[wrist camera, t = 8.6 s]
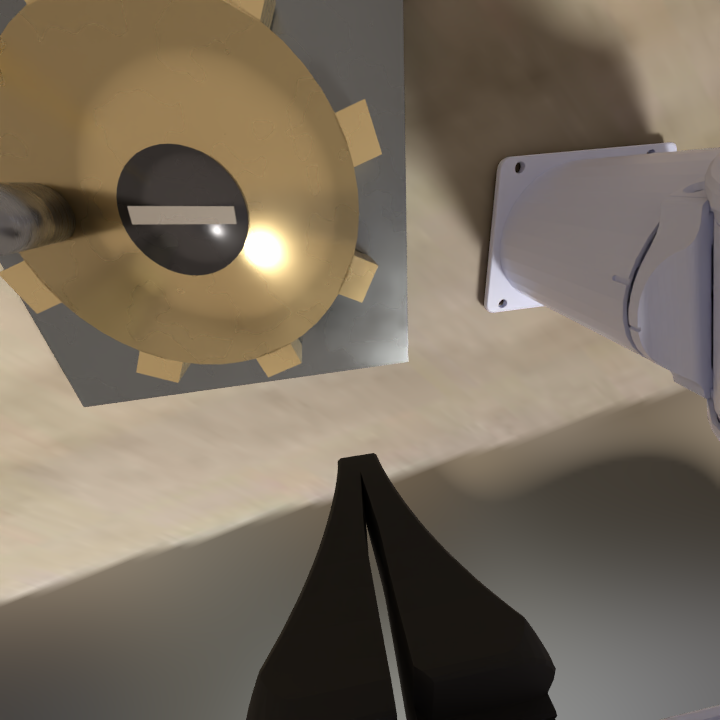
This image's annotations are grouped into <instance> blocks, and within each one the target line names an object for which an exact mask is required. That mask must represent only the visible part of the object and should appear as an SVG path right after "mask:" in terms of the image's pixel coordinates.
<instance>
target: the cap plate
mask: <svg viewBox="0 0 720 720" xmlns="http://www.w3.org/2000/svg"><path fill="white" fill-rule="evenodd" d="M275 2H276V6H275V10H274V15H273V19H272V23H271V27H270V30H271V31H272V32H273V33H275V34H276V35H277V36H278V37H279V38H280V39H281V40H283V42H284V43H285V44H286V45H287V46H288V47H289V48H290V49H291V50H292V52H293V53H294V54H295V55H296V56H297V57H298V58H299V59H300V60H301V62H302V63H303V64H304V65H305V66H306V68H307V69H308V71H309V72H310V73H311V75H312V76H313V78H314V79H315V81H316V82H317V83H318V85H319V86H320V88H321V89H322V91H323V93H324V94H325V96H326V98H327V100H328V102H329V103H330V105H331V107H332V109H333V111H334V112H335V113H336V112H338V111H340V110H342V109H344V108H347V107H349V106H351V105H353V104H355V103H357V102H359V101H361V100H363V99H365V100H366V104H367V107H368V110H369V113H370V117H371V120H372V123H373V126H374V129H375V133H376V136H377V139H378V142H379V145H380V149H381V152H382V154H381V155H379V156H377V157H375V158H373V159H371V160H368V161H366V162H364V163H362V164H360V165H358V166H356V167H354V170H355V176H356V182H357V188H358V202H359V223H358V236H357V242H356V247H355V250H356V251H358V252H361V253H363V254H365V255H368V256H370V257H371V258H372V259H373V260H374V261H375V262H376V263H377V265H378V267H377V270H376V272H375V274H374V277H373V279H372V281H371V284H370V286H369V288H368V291H367V293H366V295H365V298H364V300H363V302H362V303H361V302H359V301H356V300H353V299H351V298H348V297H345V296H343V295H340V294H338V295H337V297H336V299H335V300H334V302H333V303H332V305H331V306H330V308H329V309H328V310H327V312H326V313H325V314H324V315H323V316H322V317H321V319H320V320H319V321H318V322H317V323H316V324H315V325H314V326H313V327H311V328H310V329H309V330H308V331H307V332H306V333H305V334H304V335H302V336H301V337H299V338H298V339H299V341H300V343H301V345H302V363H301V364H299V365H296V366H294V367H292V368H289V369H287V370H285V371H282V372H280V373H278V374H275V375H273V376H271V377H268V376H267V375H266V373H265V372H264V370H263V369H262V367H261V366H260V364H259V362H258V361H257V359H251V360H247V361H243V362H237V363H228V364H194V363H191V364H190V366H189V367H188V369H187V370H186V372H185V373H184V375H183V376H182V378H181V380H180V381H179V383H177V382H173V381H169V380H165V379H161V378H157V377H153V376H149V375H145V374H141V373H137V372H136V371H137V365H138V359H139V352H140V351H139V350H137V349H135V348H132V347H130V346H128V345H125V344H123V343H121V342H119V341H117V340H115V339H113V338H112V337H110V336H108V335H106V334H104V333H103V332H101V331H99V330H98V329H96V328H95V327H93V326H92V325H90V324H89V323H87V322H86V321H84V320H83V319H81V318H80V317H79V316H78V315H76V314H75V313H74V312H73V311H72V310H70V309H69V308H68V307H67V306H66V305H64V304H63V303H59V304H57V305H55V306H53V307H51V308H49V309H47V310H44V311H42V312H40V313H38V314H37V313H36V312H35V311H34V310H33V309H32V308H31V307H30V306H29V305H28V304H27V303H26V302H25V301H24V300H23V299H22V298H21V299H22V301H23V302H24V304H25V306H26V308H27V309H28V311H29V313H30V315H31V316H32V318H33V320H34V321H35V323H36V325H37V327H38V328H39V330H40V332H41V334H42V335H43V337H44V339H45V341H46V342H47V344H48V346H49V347H50V349H51V351H52V353H53V354H54V356H55V358H56V360H57V361H58V363H59V365H60V367H61V368H62V370H63V372H64V373H65V375H66V377H67V379H68V380H69V382H70V384H71V386H72V387H73V389H74V391H75V393H76V394H77V396H78V398H79V399H80V401H81V403H82V405H83V406H84V407H89V406H96V405H103V404H110V403H117V402H125V401H132V400H139V399H146V398H153V397H160V396H167V395H175V394H182V393H189V392H196V391H203V390H210V389H217V388H225V387H232V386H239V385H246V384H253V383H260V382H267V381H275V380H282V379H289V378H296V377H303V376H310V375H318V374H325V373H332V372H339V371H346V370H353V369H360V368H368V367H375V366H382V365H389V364H396V363H403V362H408V308H407V239H406V170H405V100H404V31H403V0H275ZM25 5H26V2H25V1H24V0H0V35H1V34H2V32H3V31H4V29H5V28H6V26H7V24H8V23H9V22H10V21H11V20H12V19H13V18H14V17H15V16H16V15H17V14H18V13H19V12H20V11H21V10H22V9H23V8H24V6H25ZM22 261H24V260H23V258H22V257H21V255H20V254H19V252H17V253H13V254H9V255H4V256H0V263H1V264H2V266H3V268H4V269H8V268H10V267H12V266H14V265H16V264H18V263H20V262H22Z"/></svg>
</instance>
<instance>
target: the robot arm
mask: <svg viewBox="0 0 720 720" xmlns="http://www.w3.org/2000/svg"><path fill="white" fill-rule="evenodd" d="M647 152H648V154H647ZM518 162H519V163H520V165H521V168H520V171H519V172H518V173H516V171H515V166H516V164H517V163H518ZM503 299H504V302H503V304H502V305H500V306H499V302H500V301H501V300H503ZM540 306H546V307H548V308H550V309H552V310H554V311H556V312H558V313H560V314H561V315H563V316H565V317H567V318H569V319H571V320H573V321H575V322H577V323H579V324H581V325H583V326H585V327H587V328H589V329H591V330H593V331H594V332H596V333H598V334H600V335H602V336H604V337H606V338H608V339H610V340H612V341H614V342H616V343H618V344H620V345H622V346H624V347H626V348H628V349H629V350H631V351H633V352H635V353H637V354H639V355H641V356H643V357H645V358H647V359H649V360H651V361H652V362H654V363H656V364H658V365H660V366H662V367H664V368H666V369H668V370H670V371H671V373H672V375H673V379H674V382H676V383H678V384H680V385H682V386H683V387H685V388H687V389H689V390H691V391H693V392H695V393H697V394H698V395H700V396H702V397H704V398H706V399H707V413H708V420H709V423H710V426H711V428H712V430H713V432H714V434H715V435H716V437H717V438H718V440H719V441H720V147H719V148H708V149H696V150H685V151H677V147H676V145H675V143H672V142H668V143H657V144H646V145H635V146H624V147H612V148H601V149H590V150H579V151H568V152H557V153H545V154H534V155H523V156H512V157H506V158H504V159H503V160H501V161H500V163H499V165H498V168H497V176H496V186H495V196H494V207H493V217H492V227H491V237H490V247H489V258H488V268H487V278H486V288H485V299H484V307H485V309H486V310H488V311H489V312H493V313H494V312H501V311H509V310H517V309H524V308H532V307H540ZM366 524H367V528H368V532H369V536H370V540H371V544H372V547H373V551H374V555H375V559H376V563H377V566H378V570H379V574H380V578H381V582H382V586H383V590H384V595H385V599H386V605H387V610H388V616H389V622H390V627H391V633H392V638H393V643H394V650H395V655H396V661H397V667H398V673H399V678H400V684H401V690H402V696H403V701H404V707H405V713H406V719H407V720H555V718H556V717H557V714H556V710H555V708H554V706H553V704H552V702H551V700H550V698H549V695H548V691H549V688H550V686H551V684H552V682H553V680H554V675H555V669H556V668H555V666H554V665H553V662H552V660H551V658H550V656H549V654H548V652H547V650H546V649H545V647H544V645H543V644H542V642H541V641H540V639H539V638H538V636H537V635H536V633H535V631H534V630H533V629H532V627H531V626H530V624H529V623H528V622H527V620H526V619H525V618H524V617H523V616H522V615H521V614H519V613H518V612H517V611H515V610H514V609H513V608H511V607H510V606H509V605H508V604H506V603H505V602H504V601H502V600H501V599H500V598H499V597H498V596H496V595H495V594H494V593H493V592H491V591H490V590H489V589H488V588H486V586H484V585H483V584H482V583H481V582H480V581H478V580H477V579H476V578H475V577H474V576H473V575H472V574H471V573H469V572H468V571H467V570H466V569H465V568H464V567H463V566H462V565H461V564H460V563H459V562H458V561H457V560H456V559H454V558H453V557H452V556H451V555H450V554H449V553H448V552H447V551H446V550H445V549H444V547H443V546H441V544H440V543H439V542H438V541H437V540H436V539H435V538H434V537H433V536H432V535H431V534H430V533H429V531H428V530H427V529H426V528H425V527H424V526H423V524H422V523H421V522H420V521H419V520H418V518H417V517H416V516H415V515H414V513H413V512H412V511H411V510H410V508H409V507H408V506H407V504H406V503H405V502H404V500H403V499H402V498H401V496H400V495H399V493H398V492H397V490H396V489H395V487H394V486H393V484H392V483H391V481H390V480H389V478H388V476H387V475H386V473H385V471H384V470H383V468H382V466H381V464H380V462H379V460H378V458H377V455H376V454H374V453H371V454H365V455H359V456H353V457H346V458H341V459H340V460H339V461H338V474H337V482H336V488H335V493H334V497H333V502H332V506H331V511H330V514H329V518H328V521H327V525H326V528H325V532H324V535H323V538H322V541H321V544H320V547H319V550H318V553H317V555H316V558H315V560H314V563H313V566H312V568H311V570H310V573H309V575H308V577H307V580H306V582H305V585H304V587H303V589H302V591H301V594H300V596H299V598H298V600H297V602H296V604H295V606H294V608H293V610H292V612H291V614H290V616H289V618H288V620H287V622H286V624H285V626H284V628H283V630H282V632H281V634H280V636H279V637H278V639H277V641H276V643H275V645H274V646H273V648H272V650H271V652H270V653H269V655H268V657H267V659H266V661H265V662H264V664H263V666H262V668H261V669H260V671H259V674H258V677H257V680H256V683H255V687H254V690H253V694H252V697H251V701H250V704H249V708H248V713H247V718H246V720H397V713H396V707H395V701H394V695H393V689H392V683H391V677H390V672H389V666H388V661H387V656H386V650H385V645H384V639H383V634H382V629H381V623H380V618H379V612H378V607H377V601H376V596H375V590H374V584H373V579H372V573H371V568H370V562H369V556H368V543H367V530H366ZM661 720H720V705H717V706H713V707H709V708H705V709H701V710H697V711H693V712H689V713H685V714H681V715H677V716H673V717H669V718H665V719H661Z"/></svg>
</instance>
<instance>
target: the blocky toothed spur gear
mask: <svg viewBox="0 0 720 720" xmlns="http://www.w3.org/2000/svg"><path fill="white" fill-rule="evenodd" d="M24 1H25V2H26V5H25V6H24V8H23V9H22V10H21V11H20V12H19V13H18V14H17V15H16V16H15V17H14V18H13V19H12V20H11V21H10V22H9V23H8V24H7V26H6V28H5V29H4V31H3V32H2V34H1V35H0V256H4V255H9V254H13V253H17V252H19V254H20V255H21V257H22V258H23V260H24V261H22V262H20V263H18V264H16V265H14V266H12V267H10V268H8V269H5V270H3V271H1V272H0V276H1V277H2V278H3V279H4V280H5V281H6V282H7V283H8V284H9V285H10V286H11V287H12V288H13V289H14V290H15V292H16V293H17V294H18V295H19V296H20V297H21V298H22V299H23V300H24V301H25V302H26V303H27V304H28V305H29V306H30V307H31V308H32V309H33V310H34V311H35V312H36V313H37V314H38V313H40V312H42V311H44V310H47V309H49V308H51V307H53V306H55V305H57V304H59V303H63V304H64V305H66V306H67V307H68V308H69V309H70V310H72V311H73V312H74V313H75V314H76V315H78V316H79V317H80V318H81V319H83V320H84V321H86V322H87V323H89V324H90V325H92V326H93V327H95V328H96V329H98V330H99V331H101V332H103V333H104V334H106V335H108V336H110V337H112V338H113V339H115V340H117V341H119V342H121V343H123V344H125V345H128V346H130V347H132V348H135V349H137V350H139V351H140V352H139V359H138V365H137V371H136V372H137V373H141V374H145V375H149V376H153V377H157V378H161V379H165V380H169V381H173V382H177V383H179V381H180V380H181V378H182V376H183V375H184V373H185V372H186V370H187V369H188V367H189V366H190V364H191V363H194V364H228V363H237V362H243V361H247V360H251V359H257V361H258V362H259V364H260V366H261V367H262V369H263V370H264V372H265V373H266V375H267V376H268V377H271V376H273V375H275V374H278V373H280V372H282V371H285V370H287V369H289V368H292V367H294V366H296V365H299V364H301V363H302V345H301V343H300V341H299V339H298V338H299V337H301V336H302V335H304V334H305V333H306V332H307V331H308V330H309V329H310V328H311V327H313V326H314V325H315V324H316V323H317V322H318V321H319V320H320V319H321V317H322V316H323V315H324V314H325V313H326V312H327V310H328V309H329V308H330V306H331V305H332V303H333V302H334V300H335V299H336V297H337V295H338V294H340V295H343V296H345V297H348V298H351V299H353V300H356V301H359V302H361V303H362V302H363V300H364V298H365V295H366V293H367V291H368V288H369V286H370V284H371V281H372V279H373V277H374V274H375V272H376V270H377V267H378V265H377V263H376V262H375V261H374V260H373V259H372V258H371V257H370V256H368V255H365V254H363V253H361V252H358V251H356V250H355V247H356V242H357V236H358V223H359V202H358V188H357V182H356V176H355V170H354V167H356V166H358V165H360V164H362V163H364V162H366V161H368V160H371V159H373V158H375V157H377V156H379V155H381V154H382V152H381V149H380V145H379V142H378V139H377V136H376V133H375V129H374V126H373V123H372V120H371V117H370V113H369V110H368V107H367V104H366V100H365V99H363V100H361V101H359V102H357V103H355V104H353V105H351V106H349V107H347V108H344V109H342V110H340V111H338V112H336V113H335V112H334V111H333V109H332V107H331V105H330V103H329V102H328V100H327V98H326V96H325V94H324V93H323V91H322V89H321V88H320V86H319V85H318V83H317V82H316V81H315V79H314V78H313V76H312V75H311V73H310V72H309V71H308V69H307V68H306V66H305V65H304V64H303V63H302V62H301V60H300V59H299V58H298V57H297V56H296V55H295V54H294V53H293V52H292V50H291V49H290V48H289V47H288V46H287V45H286V44H285V43H284V42H283V40H281V39H280V38H279V37H278V36H277V35H276V34H275V33H273V32H272V31H271V30H270V27H271V23H272V19H273V15H274V10H275V6H276V2H275V0H24Z"/></svg>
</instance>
